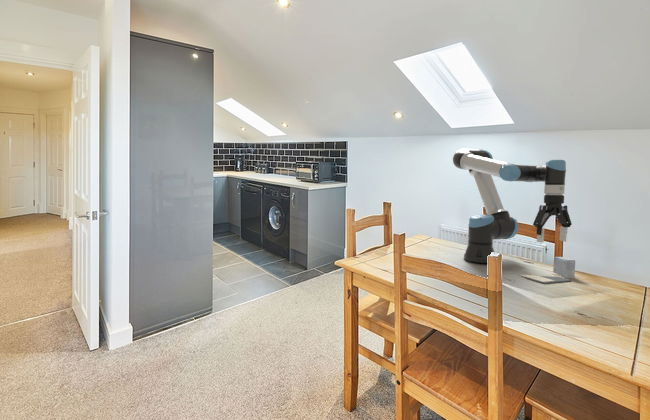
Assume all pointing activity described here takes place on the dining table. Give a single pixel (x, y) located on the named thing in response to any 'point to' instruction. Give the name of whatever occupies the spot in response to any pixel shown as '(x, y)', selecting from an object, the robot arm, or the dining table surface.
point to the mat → (545, 279)
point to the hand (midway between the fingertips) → (551, 241)
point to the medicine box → (564, 267)
